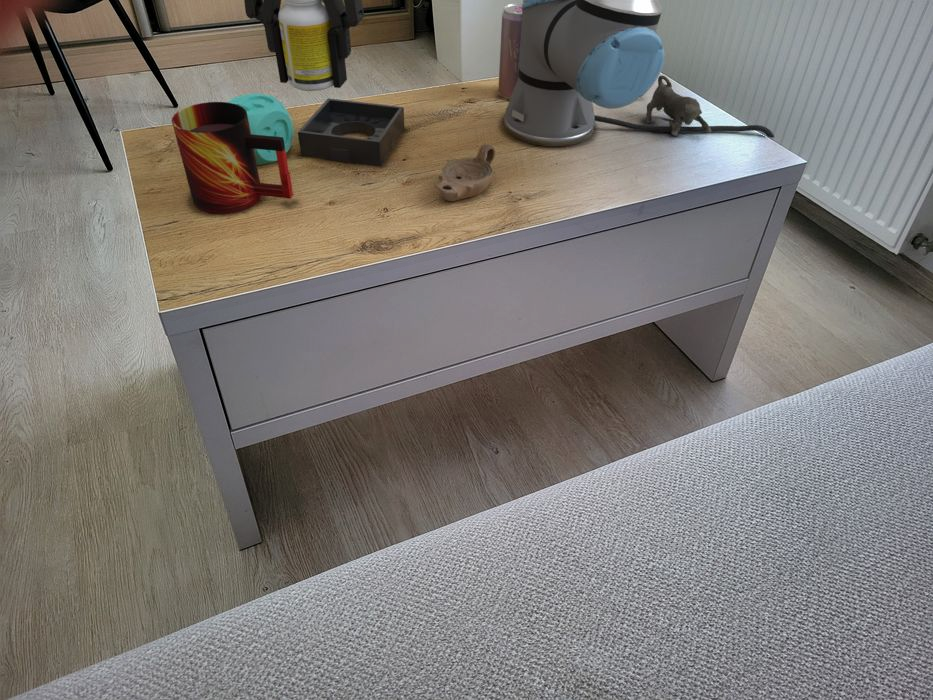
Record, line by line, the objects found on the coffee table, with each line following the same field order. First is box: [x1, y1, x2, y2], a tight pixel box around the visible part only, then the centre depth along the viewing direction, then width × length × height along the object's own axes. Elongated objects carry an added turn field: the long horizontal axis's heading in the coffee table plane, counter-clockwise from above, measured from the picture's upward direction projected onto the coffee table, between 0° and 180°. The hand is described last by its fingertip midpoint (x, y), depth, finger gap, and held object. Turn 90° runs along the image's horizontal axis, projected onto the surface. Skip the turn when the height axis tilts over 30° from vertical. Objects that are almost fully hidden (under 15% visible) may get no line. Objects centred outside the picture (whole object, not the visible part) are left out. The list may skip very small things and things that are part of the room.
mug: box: [171, 101, 294, 215], centre depth 99 cm, size 10×14×12 cm
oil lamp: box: [434, 143, 496, 202], centre depth 105 cm, size 13×8×5 cm, turn 143°
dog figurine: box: [645, 75, 713, 137], centre depth 120 cm, size 12×6×7 cm, turn 30°
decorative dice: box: [227, 93, 295, 166], centre depth 110 cm, size 8×8×8 cm
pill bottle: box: [278, 0, 334, 92], centre depth 85 cm, size 6×6×11 cm
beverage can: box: [497, 2, 523, 101], centre depth 127 cm, size 6×6×15 cm
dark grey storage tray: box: [297, 97, 406, 167], centre depth 115 cm, size 13×13×4 cm
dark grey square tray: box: [314, 112, 397, 163], centre depth 116 cm, size 13×13×2 cm
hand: (313, 80), depth 88 cm, fingers closed on pill bottle, 6 cm apart
